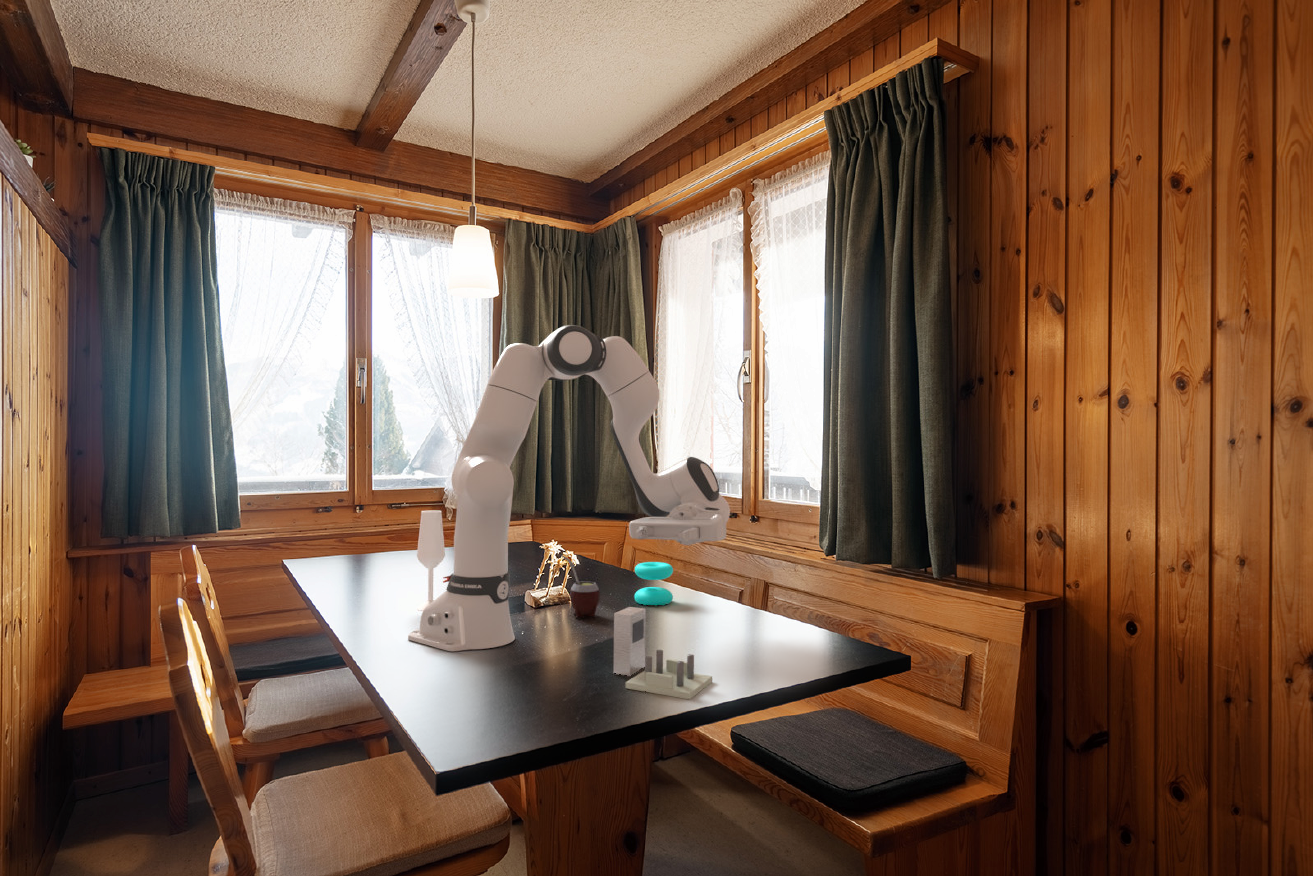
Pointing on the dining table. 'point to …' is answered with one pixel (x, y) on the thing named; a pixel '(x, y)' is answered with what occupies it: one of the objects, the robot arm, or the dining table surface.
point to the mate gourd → (583, 596)
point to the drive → (629, 640)
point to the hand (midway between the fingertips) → (659, 536)
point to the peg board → (670, 678)
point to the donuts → (653, 593)
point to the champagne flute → (430, 547)
